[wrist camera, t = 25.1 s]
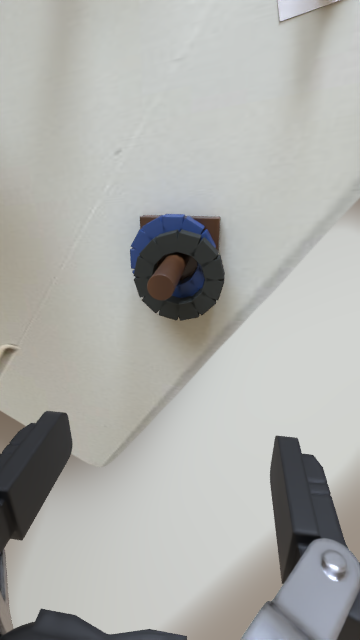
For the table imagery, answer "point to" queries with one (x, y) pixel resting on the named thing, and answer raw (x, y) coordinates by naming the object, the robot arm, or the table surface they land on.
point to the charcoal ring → (189, 246)
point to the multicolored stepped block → (299, 7)
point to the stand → (177, 260)
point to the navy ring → (166, 225)
